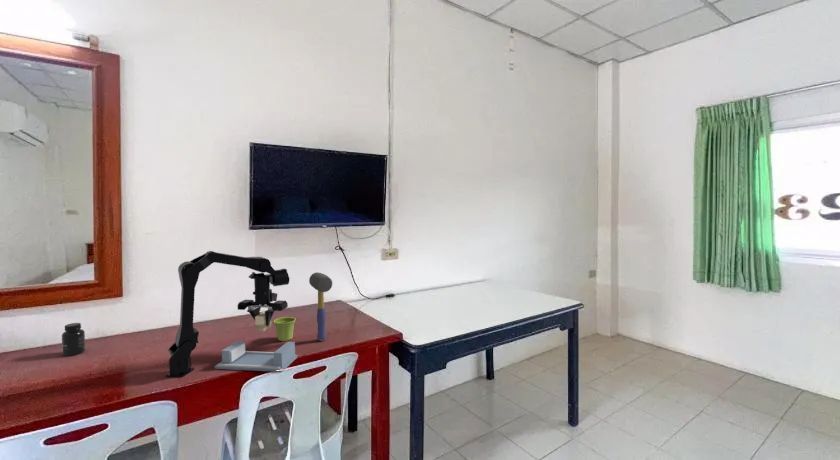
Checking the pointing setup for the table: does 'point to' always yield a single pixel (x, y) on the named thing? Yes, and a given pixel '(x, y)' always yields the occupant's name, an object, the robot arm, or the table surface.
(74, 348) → the supplement bottle
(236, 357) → the block
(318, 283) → the rubber mallet
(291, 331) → the plant pot
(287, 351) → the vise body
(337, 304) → the table surface
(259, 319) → the block
